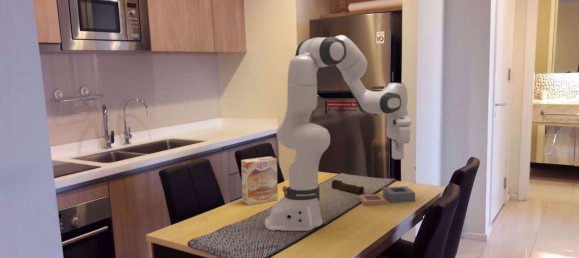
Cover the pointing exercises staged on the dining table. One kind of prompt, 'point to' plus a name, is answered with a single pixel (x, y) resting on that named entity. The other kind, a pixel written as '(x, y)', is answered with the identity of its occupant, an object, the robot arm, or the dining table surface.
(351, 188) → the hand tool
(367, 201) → the pink square tray
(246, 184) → the coffeecake box
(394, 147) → the spigot
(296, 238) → the dining table surface
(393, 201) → the socket block
